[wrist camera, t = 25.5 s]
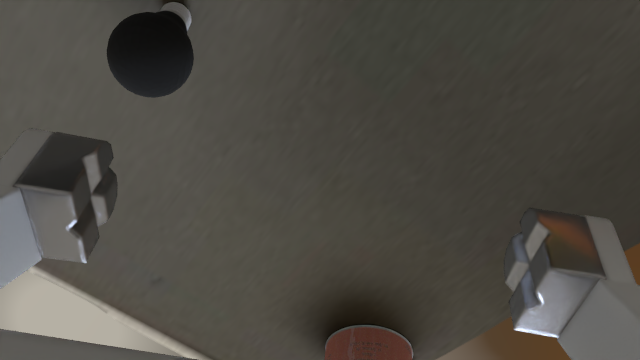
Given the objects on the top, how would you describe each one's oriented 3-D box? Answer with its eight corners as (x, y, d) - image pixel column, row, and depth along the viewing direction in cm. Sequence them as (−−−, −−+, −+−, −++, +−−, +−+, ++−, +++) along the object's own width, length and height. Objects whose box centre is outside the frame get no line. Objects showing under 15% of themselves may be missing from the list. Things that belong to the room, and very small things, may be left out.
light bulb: (229, 28, 47) (197, 96, 39) (172, 55, 49) (131, 124, 42) (186, -38, 44) (143, 23, 36) (127, -6, 46) (75, 57, 38)
